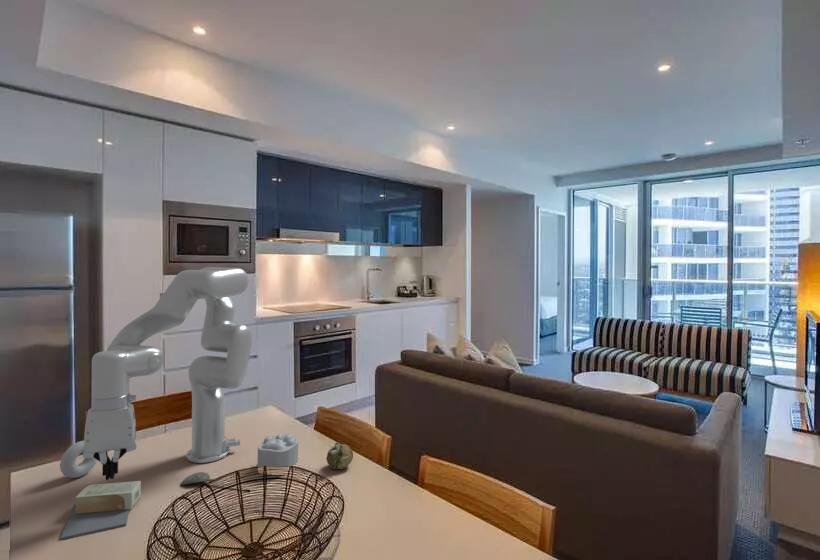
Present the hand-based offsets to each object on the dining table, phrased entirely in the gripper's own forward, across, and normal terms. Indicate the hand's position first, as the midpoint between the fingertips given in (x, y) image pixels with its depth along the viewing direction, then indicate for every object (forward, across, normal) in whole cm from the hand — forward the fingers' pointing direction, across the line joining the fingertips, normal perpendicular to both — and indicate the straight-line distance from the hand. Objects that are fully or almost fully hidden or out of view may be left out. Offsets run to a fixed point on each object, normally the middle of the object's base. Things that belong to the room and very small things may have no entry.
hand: (110, 477), depth 105 cm
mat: (+9, +2, 0) cm, 9 cm away
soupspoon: (+9, -24, -3) cm, 26 cm away
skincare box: (+6, -6, -1) cm, 8 cm away
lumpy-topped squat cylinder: (+9, -42, -8) cm, 44 cm away
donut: (+9, +10, -25) cm, 28 cm away
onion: (+9, -58, +1) cm, 59 cm away
